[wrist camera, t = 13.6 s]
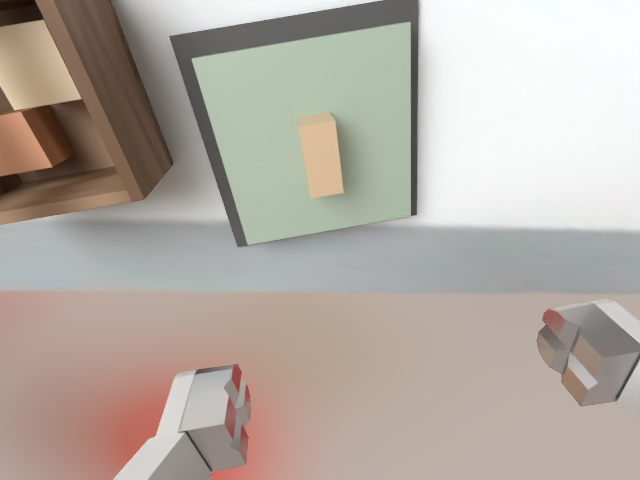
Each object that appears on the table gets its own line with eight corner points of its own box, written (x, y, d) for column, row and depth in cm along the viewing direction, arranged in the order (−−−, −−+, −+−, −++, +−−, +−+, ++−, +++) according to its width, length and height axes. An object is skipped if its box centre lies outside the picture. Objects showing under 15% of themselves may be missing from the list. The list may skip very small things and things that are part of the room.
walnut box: (102, -21, 21) (33, -43, 15) (173, 163, 27) (144, 199, 22) (-91, 11, 21) (-238, 1, 15) (25, 189, 27) (-46, 232, 21)
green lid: (399, 22, 24) (428, 20, 19) (402, 204, 31) (423, 233, 27) (198, 56, 24) (179, 61, 19) (249, 231, 31) (245, 265, 26)
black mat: (416, -5, 23) (418, -6, 23) (415, 213, 32) (416, 214, 32) (171, 36, 23) (169, 36, 23) (238, 244, 32) (237, 246, 32)
